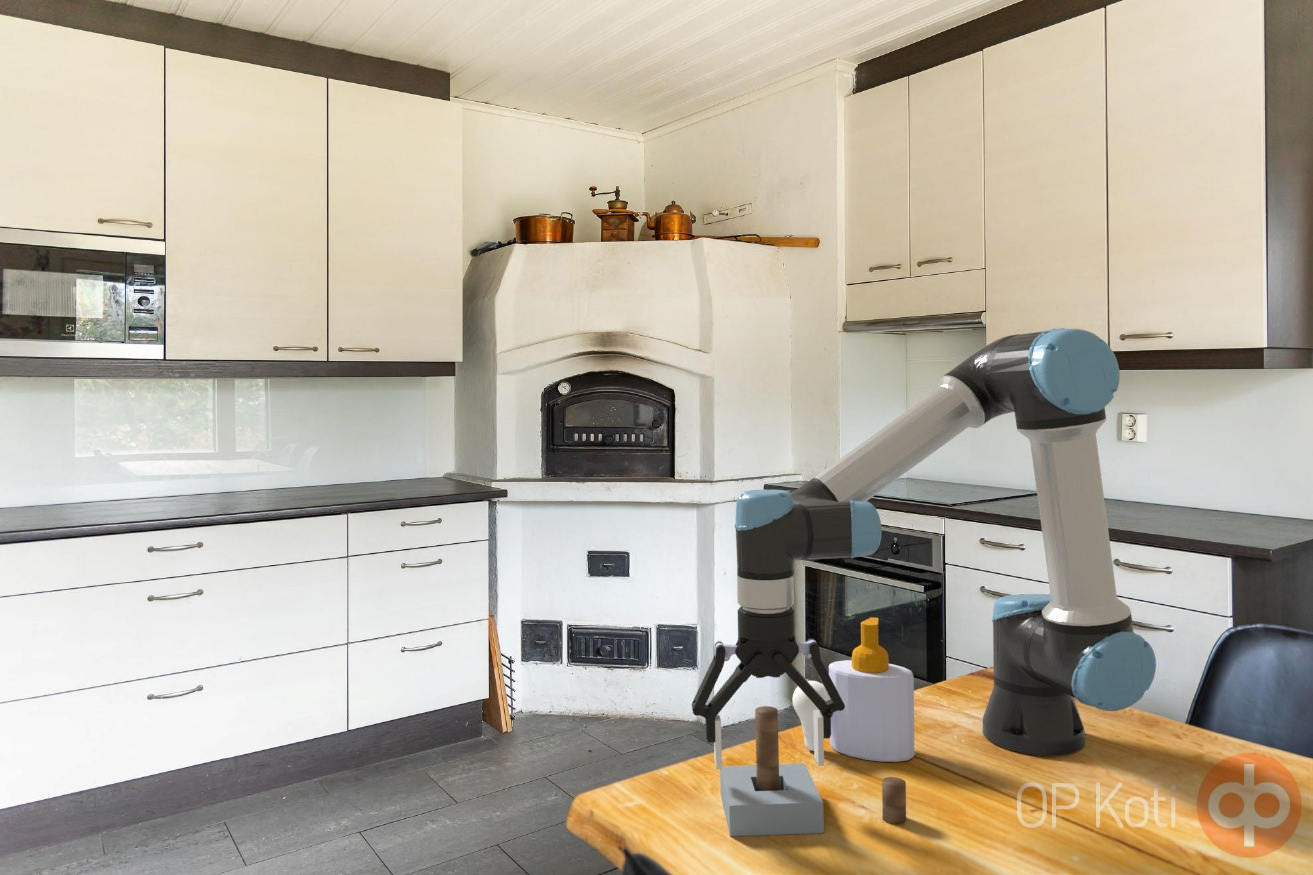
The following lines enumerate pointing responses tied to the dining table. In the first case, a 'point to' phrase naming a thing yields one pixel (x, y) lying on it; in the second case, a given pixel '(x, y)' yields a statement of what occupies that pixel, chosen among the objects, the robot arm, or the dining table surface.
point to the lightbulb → (808, 711)
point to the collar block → (771, 802)
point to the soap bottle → (873, 703)
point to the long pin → (767, 748)
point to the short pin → (894, 800)
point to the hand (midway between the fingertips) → (768, 763)
